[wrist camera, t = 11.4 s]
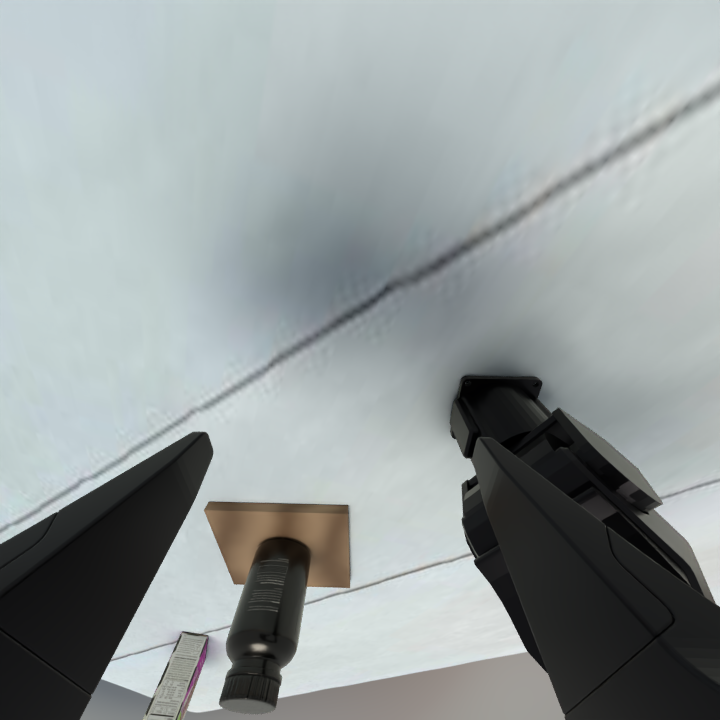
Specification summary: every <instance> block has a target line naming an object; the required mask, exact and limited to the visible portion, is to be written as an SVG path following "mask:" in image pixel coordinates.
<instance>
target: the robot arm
mask: <svg viewBox="0 0 720 720" xmlns="http://www.w3.org/2000/svg"><path fill="white" fill-rule="evenodd" d="M467 381H470V382H469V383H468V384H465V383H466V382H467ZM535 382H536V384H534V383H535ZM533 384H534V385H533ZM541 386H542V381H541V380H540V379H539V378H537V377H495V376H465V377H463V378H462V379H461V382H460V387H459V392H458V397H457V399H455V401H454V403H453V408H452V413H451V419H450V425H451V436H452V437H453V438H454V439H456V440H457V442H458V444H459V447H460V449H461V452H462V454H463V456H464V457H465V458H470V459H471V461H472V463H473V465H474V468H475V471H476V475H475V476H474V477H473V478H471V479H470V480H466V481H465V482H464V483H463V484H462V501H463V518H462V526H463V528H464V533H465V537H466V541H467V544H468V545H469V547H470V550H471V552H472V553H473V555H474V557H475V560H474V563H475V565H476V567H477V568H478V569H479V570H480V572H481V573H482V574H483V575H484V577H485V578H486V579H487V580H488V582H489V583H490V584H491V586H492V587H493V589H494V590H495V592H496V594H497V595H498V597H499V598H500V600H501V601H502V603H503V605H504V607H505V609H506V610H507V612H508V614H509V616H510V618H511V620H512V622H513V624H514V626H515V628H516V630H517V632H518V634H519V636H520V638H521V640H522V642H523V644H524V646H525V648H526V649H527V651H528V652H529V653H530V655H531V656H532V657H533V658H534V659H535V660H536V661H537V662H538V663H539V665H540V666H541V667H542V668H543V669H544V670H545V671H546V672H547V673H548V675H549V677H550V680H551V682H552V685H553V688H554V690H555V693H556V696H557V698H558V701H559V703H560V706H561V708H562V711H563V713H564V714H565V720H720V607H719V606H718V605H716V603H715V601H714V599H713V596H712V594H711V592H710V589H709V587H708V585H707V582H706V580H705V578H704V576H703V573H702V571H701V569H700V566H699V564H698V562H697V559H696V557H695V555H694V552H693V550H692V548H691V546H690V545H689V543H688V542H687V541H686V540H685V538H684V537H683V536H682V535H680V534H679V533H678V532H677V531H676V530H675V529H674V528H673V527H672V526H671V525H670V524H669V523H668V522H667V521H666V520H665V519H663V518H662V517H661V516H660V515H659V514H658V513H657V512H656V511H655V510H654V508H656V507H658V506H660V505H662V504H663V503H662V501H661V500H660V498H659V497H658V495H657V494H656V493H655V491H654V490H653V489H652V487H651V486H650V484H649V483H648V482H647V480H646V479H645V478H644V476H643V475H642V474H641V472H640V471H639V469H638V468H637V467H636V466H634V465H633V464H632V463H631V462H630V461H629V460H628V459H626V458H625V457H624V456H623V455H622V454H621V453H619V452H618V451H617V450H616V449H615V448H614V447H613V446H611V445H610V444H609V443H608V442H607V441H606V440H604V439H603V438H602V437H600V436H599V435H597V434H596V433H595V432H593V431H592V430H590V429H589V428H587V427H586V426H585V425H583V424H582V423H580V422H579V421H577V420H576V419H575V418H573V417H572V416H570V415H569V414H567V413H566V412H565V411H563V410H562V409H560V408H557V409H556V410H555V411H554V412H552V413H551V412H550V411H549V410H548V409H547V408H546V407H545V406H544V405H543V404H542V403H541V402H540V401H539V400H538V399H537V398H538V395H539V392H540V389H541ZM212 457H213V448H212V445H211V442H210V439H209V436H208V434H207V433H206V432H192V433H190V434H188V435H187V436H185V437H183V438H182V439H180V440H178V441H177V442H175V443H173V444H171V445H170V446H168V447H166V448H165V449H163V450H161V451H159V452H158V453H156V454H154V455H153V456H151V457H149V458H148V459H146V460H144V461H142V462H141V463H139V464H137V465H136V466H134V467H132V468H131V469H129V470H127V471H125V472H124V473H122V474H120V475H119V476H117V477H115V478H113V479H112V480H110V481H108V482H107V483H105V484H103V485H102V486H100V487H98V488H96V489H95V490H93V491H91V492H90V493H88V494H86V495H85V496H83V497H81V498H79V499H78V500H76V501H74V502H73V503H71V504H69V505H67V506H66V507H64V508H62V509H61V510H59V512H56V513H54V514H52V515H50V516H49V517H47V518H45V519H44V520H42V521H40V522H38V523H37V524H35V525H33V526H32V527H30V528H28V529H26V530H25V531H23V532H21V533H19V534H18V535H16V536H14V537H12V538H11V539H9V540H7V541H5V542H3V543H2V544H0V720H80V718H81V716H82V714H83V712H84V710H85V708H86V706H87V704H88V702H89V701H90V699H91V694H93V692H94V691H95V689H96V687H97V685H98V683H99V681H100V679H101V677H102V675H103V674H104V672H105V670H106V668H107V666H108V664H109V662H110V660H111V658H112V656H113V655H114V653H115V651H116V649H117V647H118V645H119V643H120V641H121V639H122V638H123V636H124V634H125V632H126V630H127V628H128V626H129V624H130V622H131V620H132V619H133V617H134V615H135V613H136V611H137V609H138V607H139V605H140V603H141V601H142V600H143V598H144V596H145V594H146V592H147V590H148V588H149V586H150V584H151V582H152V581H153V579H154V577H155V575H156V573H157V571H158V569H159V567H160V565H161V564H162V562H163V560H164V558H165V556H166V554H167V552H168V550H169V548H170V546H171V545H172V543H173V541H174V539H175V537H176V535H177V533H178V531H179V529H180V527H181V526H182V524H183V522H184V520H185V518H186V516H187V514H188V512H189V510H190V508H191V506H192V504H193V502H194V500H195V498H196V496H197V494H198V491H199V489H200V486H201V484H202V481H203V479H204V476H205V474H206V472H207V469H208V467H209V464H210V462H211V459H212Z"/></svg>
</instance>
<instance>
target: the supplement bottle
mask: <svg viewBox="0 0 720 720" xmlns="http://www.w3.org/2000/svg"><path fill="white" fill-rule="evenodd" d="M310 563H311V555H310V552H309V550H308V549H307V548H306V547H305V546H304V545H302V544H301V543H299V542H297V541H294V540H290V539H282V538H278V539H271V540H268V541H265V542H264V543H262V544H261V545H260V546H259V547H258V548H257V550H256V553H255V555H254V558H253V561H252V564H251V567H250V570H249V573H248V576H247V579H246V582H245V585H244V588H243V591H242V594H241V597H240V601H239V604H238V607H237V610H236V613H235V616H234V619H233V622H232V625H231V628H230V631H229V634H228V638H227V642H226V651H227V655H228V657H229V659H230V660H231V662H232V663H233V665H232V668H231V669H230V670H229V671H228V672H227V675H226V678H225V684H224V687H223V690H222V694H221V697H220V701H219V705H220V706H221V707H222V708H224V709H226V710H229V711H233V712H238V713H244V714H264V713H269V712H271V711H273V710H275V708H276V704H277V699H278V693H279V687H280V686H281V681H282V676H281V675H280V671H281V669H282V668H283V667H285V666H286V665H287V664H288V663H289V662H290V661H291V660H292V658H293V657H294V655H295V653H296V650H297V645H298V640H299V634H300V627H301V621H302V615H303V608H304V602H305V596H306V589H307V583H308V577H309V570H310Z"/></svg>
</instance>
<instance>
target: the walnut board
mask: <svg viewBox="0 0 720 720" xmlns="http://www.w3.org/2000/svg"><path fill="white" fill-rule="evenodd" d="M204 511H205V514H206V516H207V519H208V521H209V524H210V526H211V529H212V531H213V533H214V536H215V538H216V541H217V543H218V546H219V548H220V551H221V553H222V556H223V558H224V560H225V563H226V565H227V568H228V570H229V573H230V575H231V578H232V580H233V583H234V584H243V585H245V582H246V579H247V576H248V573H249V570H250V567H251V564H252V561H253V558H254V555H255V553H256V550H257V548H258V547H259V546H260V545H261V544H262V543H264V542H265V541H268V540H271V539H278V538H282V539H290V540H294V541H297V542H299V543H301V544H302V545H304V546H305V547H306V548H307V549H308V550H309V552H310V555H311V563H310V570H309V577H308V583H307V587H339V588H350V554H349V518H348V505H310V504H270V503H230V502H208V504H207V506H206V508H205V509H204Z"/></svg>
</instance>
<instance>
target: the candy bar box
mask: <svg viewBox="0 0 720 720" xmlns="http://www.w3.org/2000/svg"><path fill="white" fill-rule="evenodd" d="M207 641H208V636H206V635H201V634H193V633H184V632H182V633H181V635H180V637H179V639H178V642H177V644H176V646H175V648H174V651H173V653H172V655H171V657H170V659H169V662H168V664H167V666H166V668H165V671H164V673H163V675H162V677H161V680H160V682H159V684H158V686H157V689H156V691H155V693H154V695H153V698H152V700H151V702H150V705H149V707H148V709H147V711H146V713H145V715H144V718H143V720H183V719H184V717H185V714H186V711H187V708H188V706H189V703H190V700H191V697H192V695H193V692H194V689H195V686H196V684H197V681H198V678H199V675H200V673H201V670H202V667H203V664H204V662H205V658H206V649H207Z"/></svg>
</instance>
